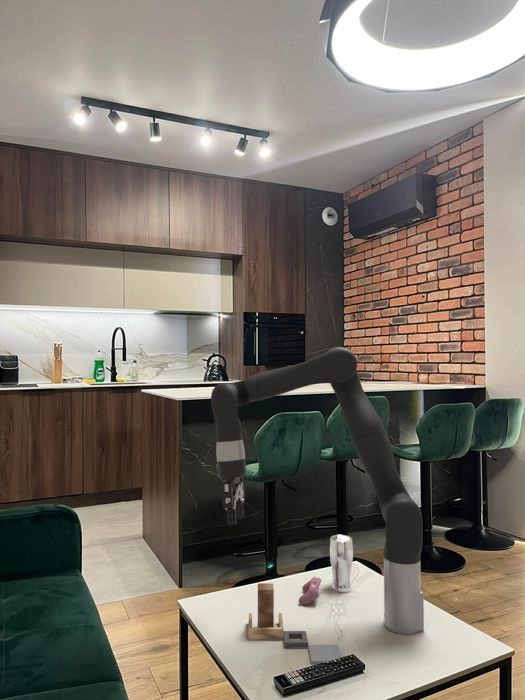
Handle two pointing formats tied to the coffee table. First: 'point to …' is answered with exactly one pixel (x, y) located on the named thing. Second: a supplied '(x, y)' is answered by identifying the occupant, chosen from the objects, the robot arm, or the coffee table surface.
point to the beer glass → (341, 562)
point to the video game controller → (310, 591)
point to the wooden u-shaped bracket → (265, 630)
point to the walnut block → (265, 605)
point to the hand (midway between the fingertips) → (235, 521)
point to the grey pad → (323, 653)
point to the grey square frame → (295, 643)
